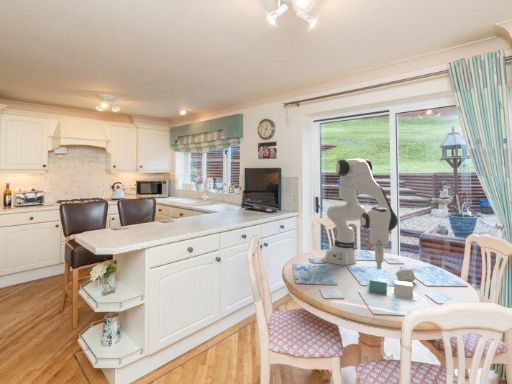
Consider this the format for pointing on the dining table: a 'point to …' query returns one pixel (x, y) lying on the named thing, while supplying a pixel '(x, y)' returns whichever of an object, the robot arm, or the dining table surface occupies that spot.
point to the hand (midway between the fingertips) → (378, 265)
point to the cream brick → (403, 288)
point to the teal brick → (378, 284)
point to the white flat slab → (392, 293)
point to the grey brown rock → (405, 275)
